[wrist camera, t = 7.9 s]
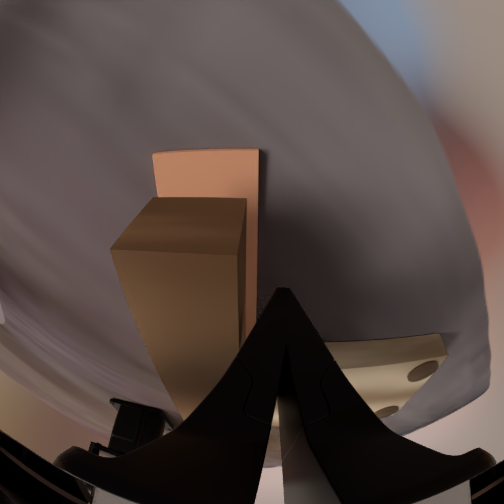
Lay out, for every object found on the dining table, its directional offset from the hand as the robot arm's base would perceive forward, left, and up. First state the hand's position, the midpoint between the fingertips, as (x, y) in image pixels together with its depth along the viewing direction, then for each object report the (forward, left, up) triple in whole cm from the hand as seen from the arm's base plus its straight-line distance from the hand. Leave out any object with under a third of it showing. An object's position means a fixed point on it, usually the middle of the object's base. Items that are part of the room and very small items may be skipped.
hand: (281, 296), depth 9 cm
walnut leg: (-4, +3, -1) cm, 5 cm away
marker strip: (-1, +3, -3) cm, 4 cm away
